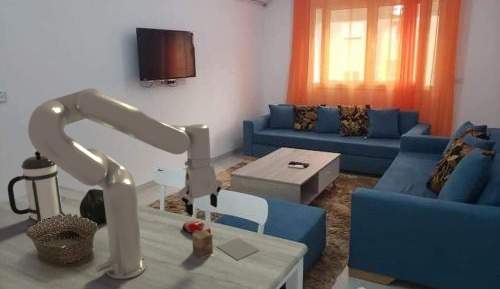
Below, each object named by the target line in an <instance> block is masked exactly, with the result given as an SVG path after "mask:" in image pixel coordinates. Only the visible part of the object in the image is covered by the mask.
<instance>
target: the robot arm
mask: <svg viewBox="0 0 500 289" xmlns="http://www.w3.org/2000/svg"><path fill="white" fill-rule="evenodd" d="M86 119H87V120H88V121H91V122H94V123H96V124H98V125H102V126H104V127H108V128H110V129H111V130H115V131H118V132H120V133H122V134H125V135H127V136H128V137H130V138H133V139H136V140H138V141H140V142H143V143H144V144H146V145H149V146H150V147H151V146H152V147H153V148H156V149H159V150H161V151H164V152H166V153H170V154H172V155H182V154H184V153H185V152H186V153H187V154H186V155H187V158H186V161H184V165H185V167H186V170H185V180H184V187H182V188H181V189H180V190H179V191H178V192H177V193H176V195H177V197H178V198H179V200H180V201H181V202H183V203H185V204H184V205H185V207H184V208H185V213H186V214H188V215H189V216H193V215H194V209H193V207H194V205H193V200H194V199H200V198H203V197H207V196H209V200H210V201H209V202H210V206H212V207H214V208H217V207H218V196H219V193H220V191H221V190H222V186H223V181H222V180H220V179H217V177H216V176H217V175H216V171H215V167H214V164H213V163H212V162H211V142H210V140H211V139H210V129H209V126H207V125H206V124H203V123H202V124H200V123H199V124H191V125H174V124H173V125H169V124H165V123H163V122H161V121H159V120H157V119H156V118H153V116H150V115H148V114H147V113H145V112H144V111H143V110H142V109H139V107H136V106H133V105H130V104H129V103H126V102H123V101H121V100H119V99H116V98H114V97H112V96H110V95H106V94H104V92H102V91H101V90H99V89H97V88H86V89H83V90H79V91H76V92H74V93H70V94H66V95H63V96H59V97H56V98H52V99H48V100H46V101H44V102H42V103H41V104H40V105H38V106H37V107H36V108H35V109H34V110H33V112H32V113H31V116H30V118H29V121H28V126H27V127H28V128H27V132H28V139H29V141H30V144H32V146H33V148H34V149H35V150H36V151H38V152H39V153H40V154H41V155H43V156H44V157H46V158H47V159H49V160H50V161H52V162H53V163H54V164H56V165H57V167H58V168H60V169H61V170H62V171H64V172H65V173H67V174H68V175H69V176H71V177H72V178H74V179H76V180H77V181H78V182H79V183H80V184H83V185H85V186H90V187H93V186H98V187H100V188H101V189H102V190H103V197H104V205H105V212H106V222H105V223H106V227H107V228H106V229H107V236H108V245H109V255H110V256H109V257H107V261H105V262H104V263H102V264H98V265H96V266H95V267H94V268H95V272H96V273H99V272H102V274H107V276H109V277H110V278H112V279H114V280H115V279H116V280H126V279H132V278H134V277H136V276H139V275H141V274H143V273H144V271H145V270H146V269H148V260H147V259H146V258H145V257H144V256H143V255H142V254H143V253H142V246H141V233H140V221H139V209H138V206H139V205H138V192H137V191H138V190H137V187H136V183H135V180H134V178H133V174H131V172H130V171H129V170H128V169H126V167H124V166H123V165H121V164H120V163H118V161H116V160H114V159H113V158H112V157H110V156H109V155H108V154H106V153H105V152H103V151H102V150H100V149H97V148H91V147H90V148H86V147H85V146H83V145H82V144H81V143H79V142H78V141H77V140H75V139H73V138H72V137H70V136H69V135H67V134H66V132H65V131H64V130H65V126H67V125H69V124H74V123H76V122H79V121H83V120H86ZM185 194H186V195H185ZM184 195H185V196H184Z"/></svg>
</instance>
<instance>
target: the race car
mask: <svg viewBox="0 0 500 289" xmlns="http://www.w3.org/2000/svg"><path fill="white" fill-rule="evenodd" d="M182 228H183V230H182V231H184V232H188V233H190V234H191V235H192V234H194V233H196V232H199V231H202V230H205V231H207V232H209V233H210V234H212V233H211V227H210V226H208V225H207V224H205V223H204V222H202V221H192V220H191V221H186V222H184V223H183V224H182Z"/></svg>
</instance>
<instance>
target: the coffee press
mask: <svg viewBox="0 0 500 289" xmlns="http://www.w3.org/2000/svg"><path fill="white" fill-rule="evenodd" d="M20 166H21V169H22V172H23V174H22V175H21V176H19V175H18V176H15V177H13V178H12V179H11V180H9V182H8V184H7V195H8V201H9V206H10V209H11V211H12V212H13V213H15V214H16V215H26V214H29V215H28V219H29V220H34V221H36V224H37V223H38V222H39V221H41V220H43V221H45V220H44V219H46V218H51V217H52V216H56V217H59V218H60V219H62V217H64V216H65V217H66V214H65V213H64V212H63V207H62V199H61V191H60V184H59V176H58V174H59V171H58V169H57V167H58V166H57V165H56V164H54V163H53V162H52V161H50V160H49V159H47V158H46V157H44V156H43V155H42V154H40V153H39V152H38V151H37V150H36V151H35V152H34V156H30V157H27V158H26V159H24V160H23V161H22V164H21V165H20ZM23 180H24V182H25V190H26V196H27V203H28V208H25V209H18V208H17V205H16V198H15V194H14V186H15V184H16V183H17V182H19V181H23ZM51 219H52V218H51Z"/></svg>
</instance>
